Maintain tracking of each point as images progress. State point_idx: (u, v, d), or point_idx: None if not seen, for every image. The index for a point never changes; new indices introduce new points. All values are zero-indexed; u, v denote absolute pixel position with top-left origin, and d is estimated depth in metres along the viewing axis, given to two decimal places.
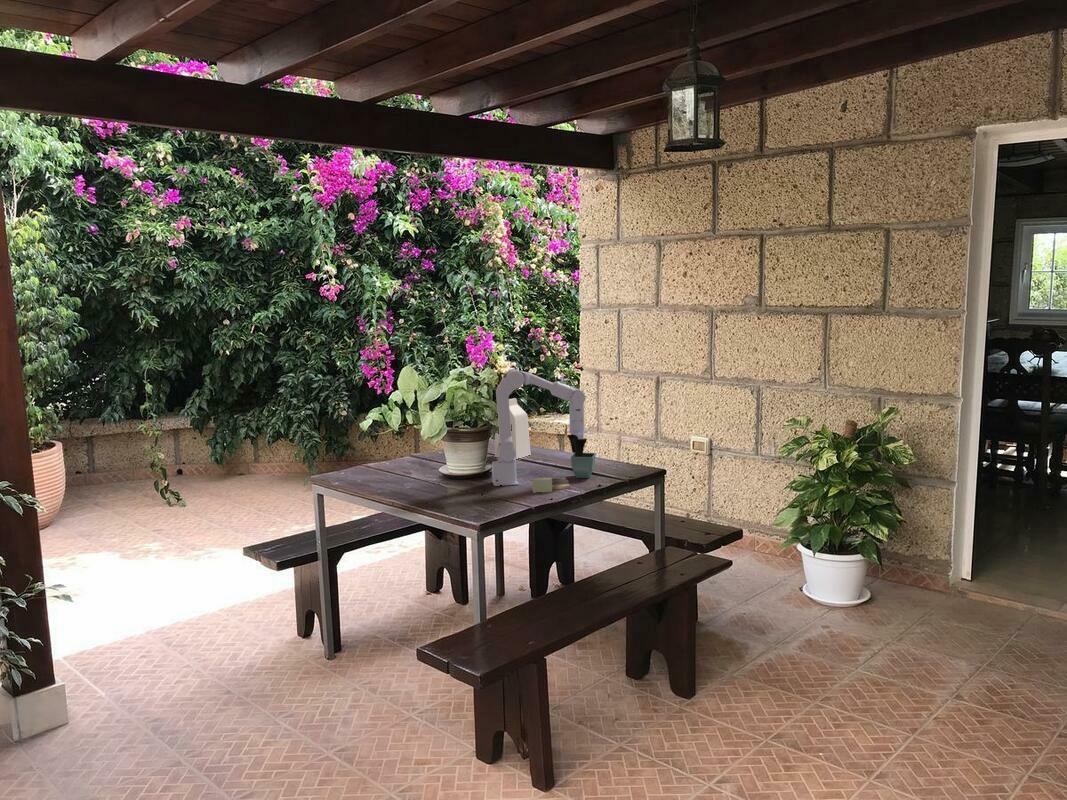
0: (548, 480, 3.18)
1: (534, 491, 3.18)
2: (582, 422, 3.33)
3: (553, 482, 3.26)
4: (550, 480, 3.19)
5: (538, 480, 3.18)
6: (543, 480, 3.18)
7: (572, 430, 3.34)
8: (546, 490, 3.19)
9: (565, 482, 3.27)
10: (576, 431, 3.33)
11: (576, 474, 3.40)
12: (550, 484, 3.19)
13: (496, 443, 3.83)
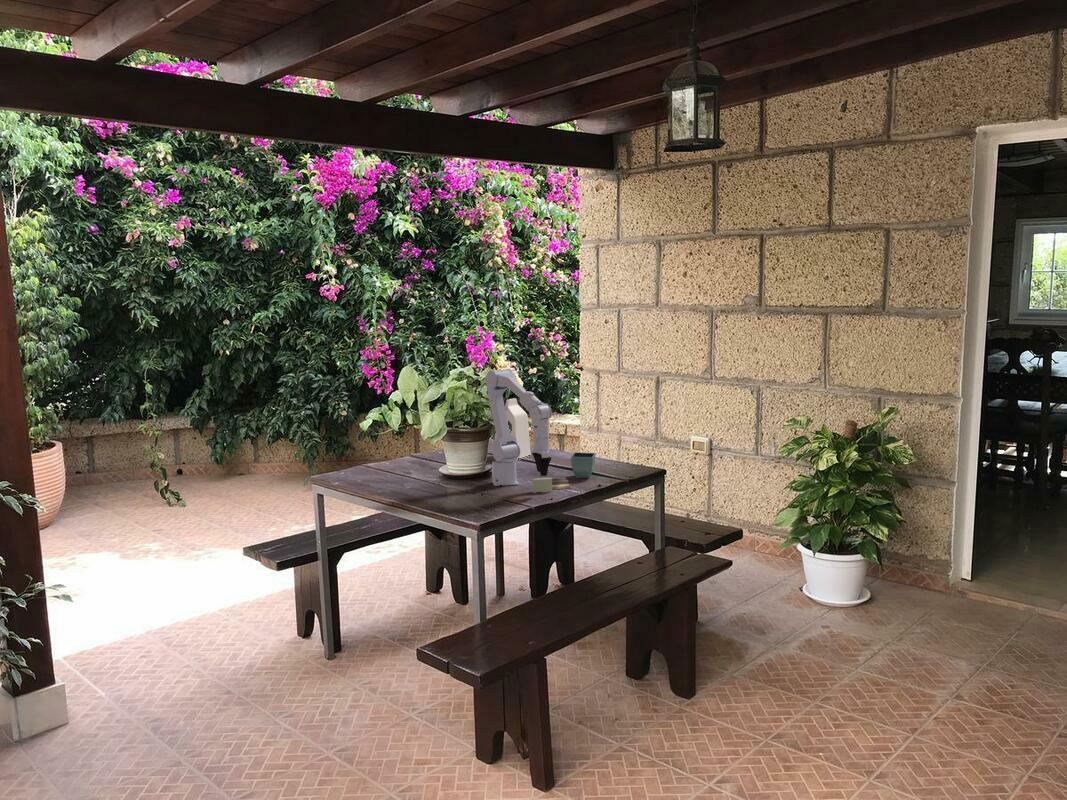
0: (548, 480, 3.18)
1: (534, 491, 3.18)
2: (547, 440, 3.15)
3: (553, 482, 3.26)
4: (550, 480, 3.19)
5: (538, 480, 3.18)
6: (543, 480, 3.18)
7: (536, 448, 3.16)
8: (546, 490, 3.19)
9: (565, 482, 3.27)
10: (540, 449, 3.15)
11: (576, 474, 3.40)
12: (550, 484, 3.19)
13: None
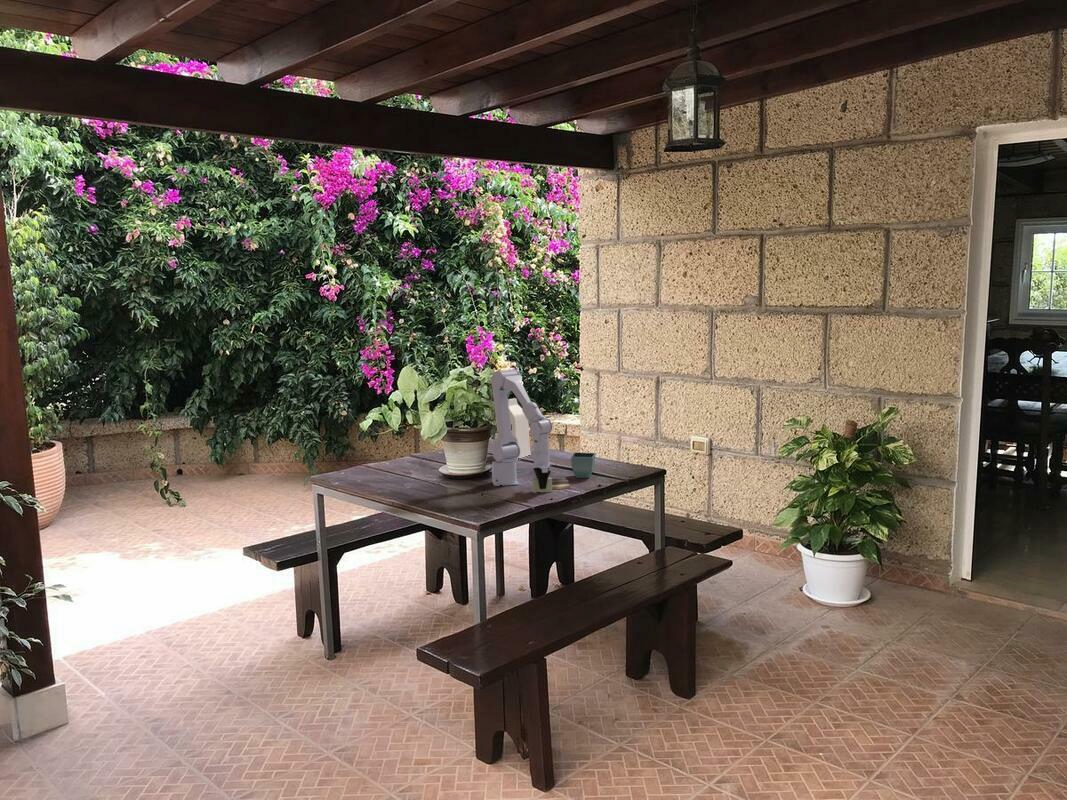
0: (548, 480, 3.18)
1: (534, 491, 3.18)
2: (547, 454, 3.16)
3: (553, 482, 3.26)
4: (550, 480, 3.19)
5: None
6: None
7: (536, 463, 3.16)
8: (546, 490, 3.19)
9: (565, 482, 3.27)
10: (540, 464, 3.16)
11: (576, 474, 3.40)
12: (550, 484, 3.19)
13: None
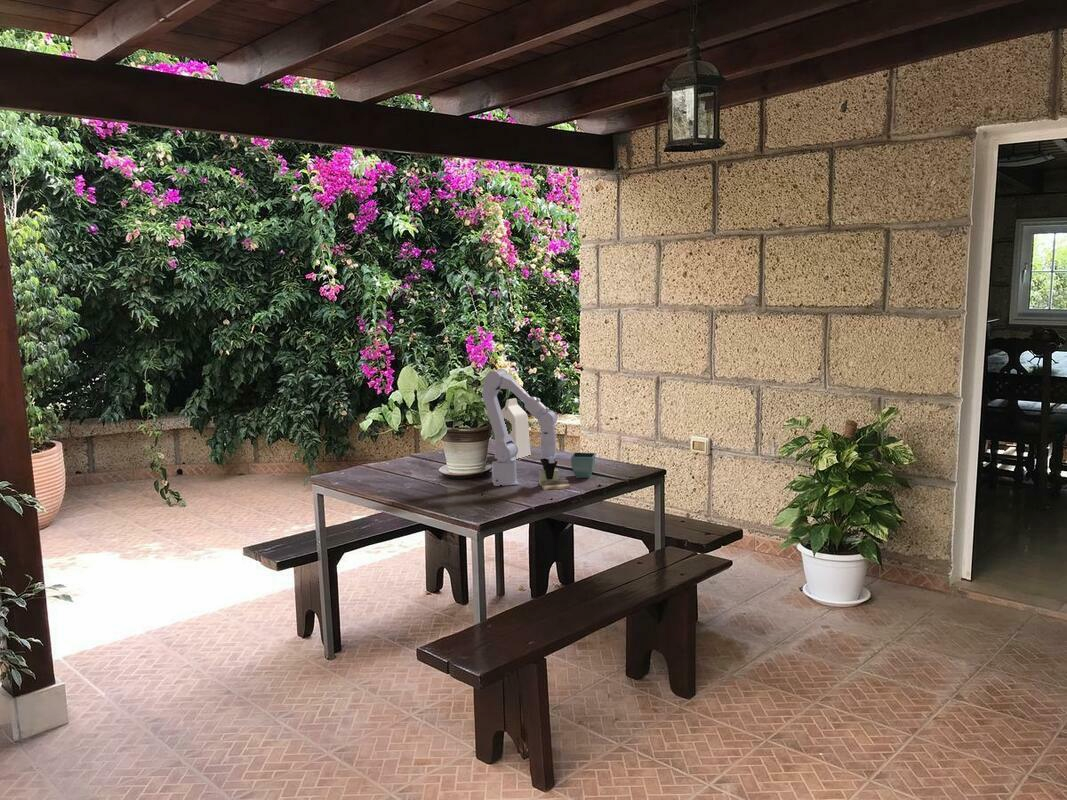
0: (555, 472, 3.27)
1: (541, 482, 3.27)
2: (553, 445, 3.25)
3: (553, 482, 3.26)
4: (557, 472, 3.27)
5: None
6: None
7: (543, 454, 3.25)
8: None
9: (565, 482, 3.27)
10: (547, 455, 3.24)
11: (576, 474, 3.40)
12: (557, 476, 3.28)
13: None
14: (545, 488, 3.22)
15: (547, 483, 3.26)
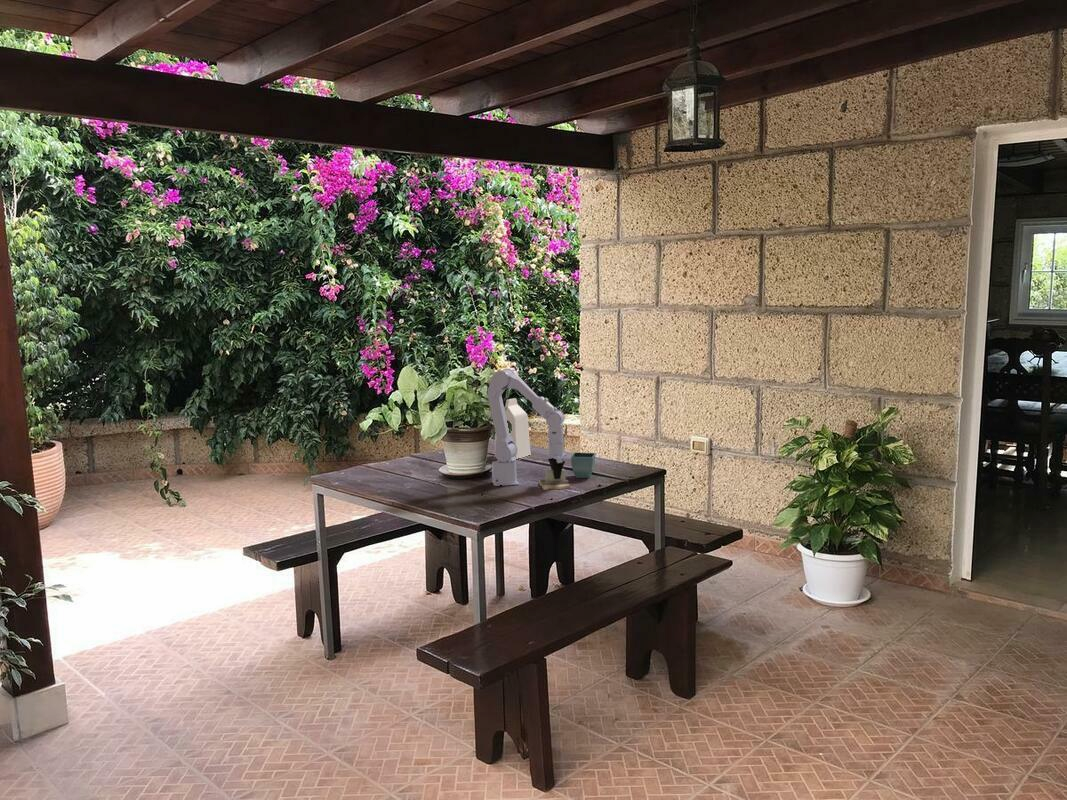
0: None
1: None
2: (561, 445, 3.25)
3: (553, 482, 3.26)
4: (563, 471, 3.28)
5: (551, 471, 3.27)
6: None
7: (551, 453, 3.25)
8: None
9: (565, 482, 3.27)
10: (555, 454, 3.25)
11: (576, 474, 3.40)
12: (563, 475, 3.28)
13: None
14: (545, 488, 3.22)
15: (547, 483, 3.26)
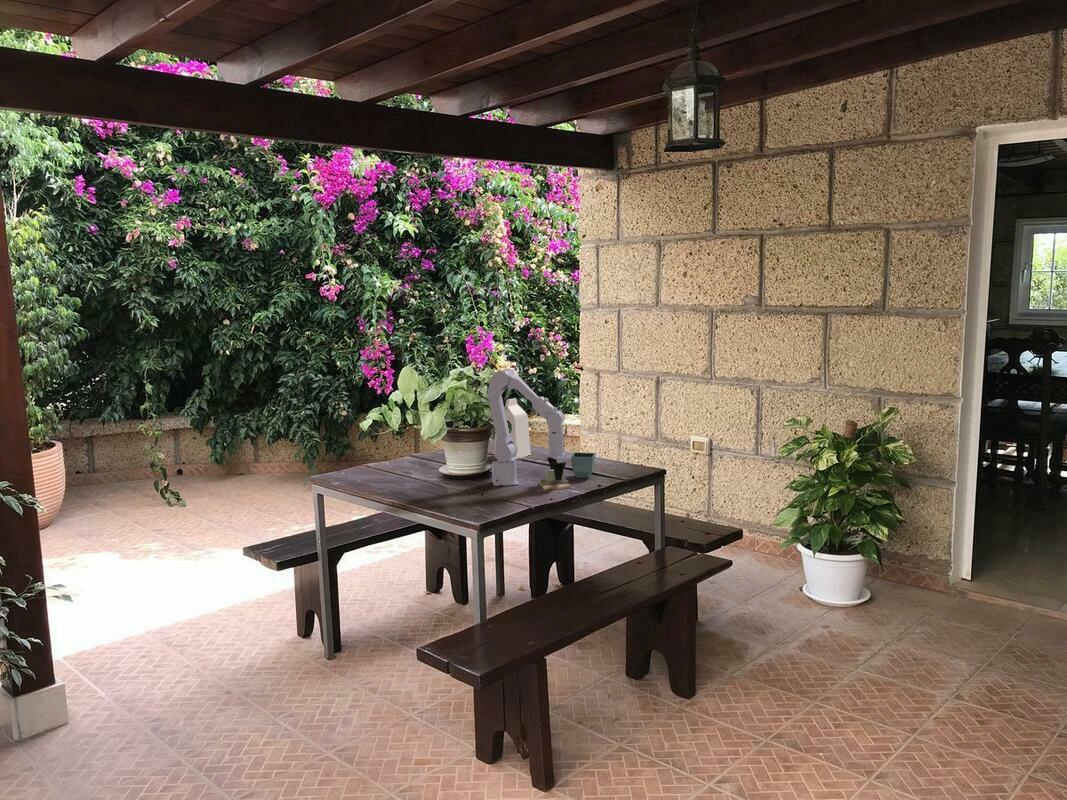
0: None
1: None
2: (561, 445, 3.25)
3: (553, 482, 3.26)
4: (563, 471, 3.28)
5: (551, 471, 3.27)
6: None
7: (551, 453, 3.25)
8: None
9: (565, 482, 3.27)
10: (555, 454, 3.25)
11: (576, 474, 3.40)
12: (563, 475, 3.28)
13: None
14: (545, 488, 3.22)
15: (547, 483, 3.26)
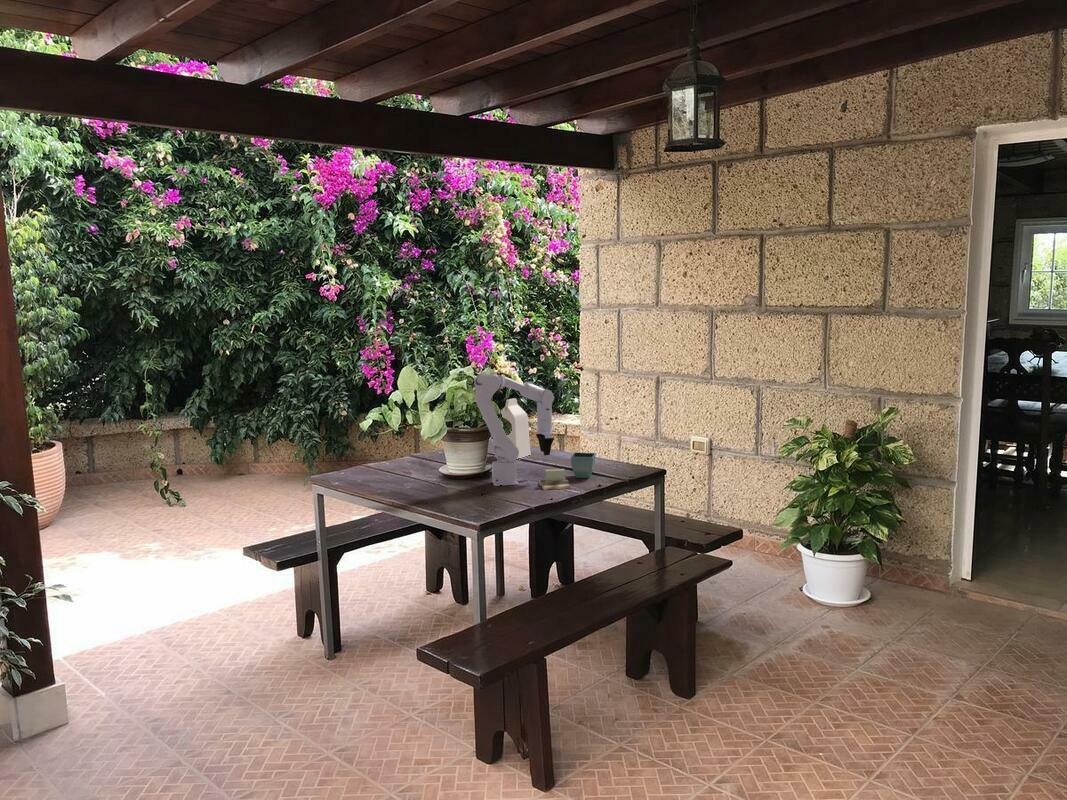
0: (561, 471, 3.28)
1: None
2: (549, 421, 3.38)
3: (553, 482, 3.26)
4: (563, 471, 3.28)
5: (551, 471, 3.27)
6: (556, 471, 3.27)
7: (540, 429, 3.38)
8: None
9: (565, 482, 3.27)
10: (543, 430, 3.37)
11: (576, 474, 3.40)
12: (563, 475, 3.28)
13: None
14: (545, 488, 3.22)
15: (547, 483, 3.26)
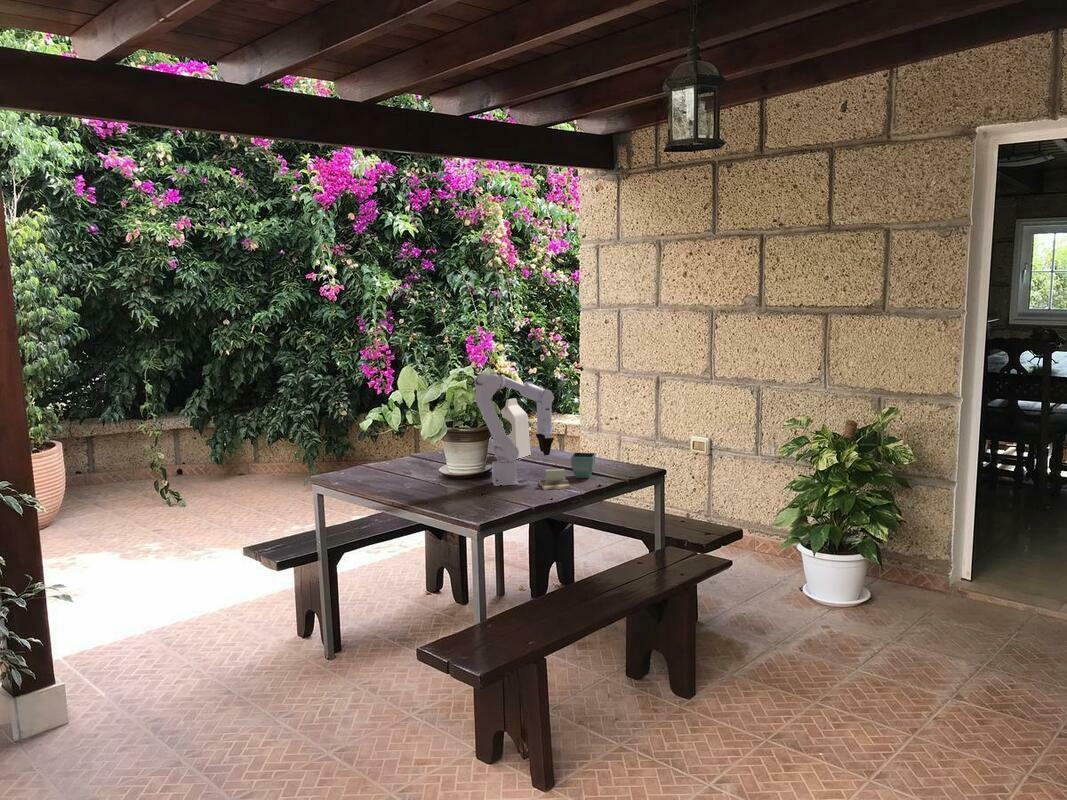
0: (561, 471, 3.28)
1: None
2: (549, 421, 3.38)
3: (553, 482, 3.26)
4: (563, 471, 3.28)
5: (551, 471, 3.27)
6: (556, 471, 3.27)
7: (539, 429, 3.38)
8: None
9: (565, 482, 3.27)
10: (543, 430, 3.37)
11: (576, 474, 3.40)
12: (563, 475, 3.28)
13: None
14: (545, 488, 3.22)
15: (547, 483, 3.26)
